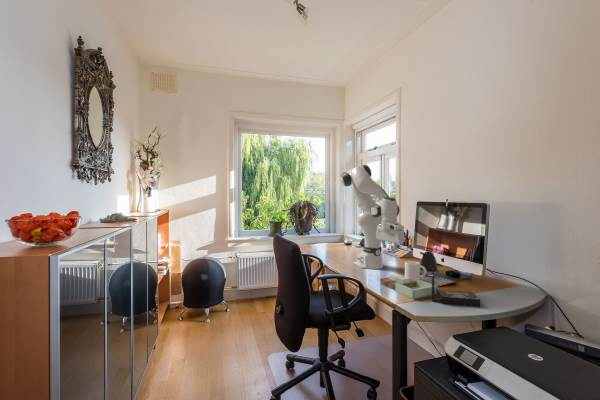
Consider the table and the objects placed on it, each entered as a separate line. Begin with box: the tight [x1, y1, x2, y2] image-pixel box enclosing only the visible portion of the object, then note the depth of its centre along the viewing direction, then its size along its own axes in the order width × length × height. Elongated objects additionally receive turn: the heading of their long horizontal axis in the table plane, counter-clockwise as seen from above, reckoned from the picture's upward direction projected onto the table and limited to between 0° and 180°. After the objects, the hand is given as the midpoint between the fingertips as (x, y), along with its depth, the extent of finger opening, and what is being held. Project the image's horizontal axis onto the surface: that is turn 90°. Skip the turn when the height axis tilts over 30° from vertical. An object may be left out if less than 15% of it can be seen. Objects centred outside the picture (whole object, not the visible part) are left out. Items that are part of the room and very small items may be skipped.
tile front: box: [396, 275, 410, 284], centre depth 158 cm, size 5×5×2 cm
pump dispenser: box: [419, 250, 438, 276], centre depth 181 cm, size 10×10×15 cm
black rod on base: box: [431, 267, 481, 308], centre depth 138 cm, size 20×14×17 cm
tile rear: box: [388, 273, 402, 281], centre depth 163 cm, size 5×5×2 cm
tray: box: [394, 279, 438, 301], centre depth 149 cm, size 12×16×5 cm
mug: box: [404, 260, 426, 282], centre depth 171 cm, size 12×8×10 cm
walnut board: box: [379, 277, 417, 291], centre depth 161 cm, size 13×14×3 cm
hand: (389, 249), depth 167 cm, fingers open, 7 cm apart
